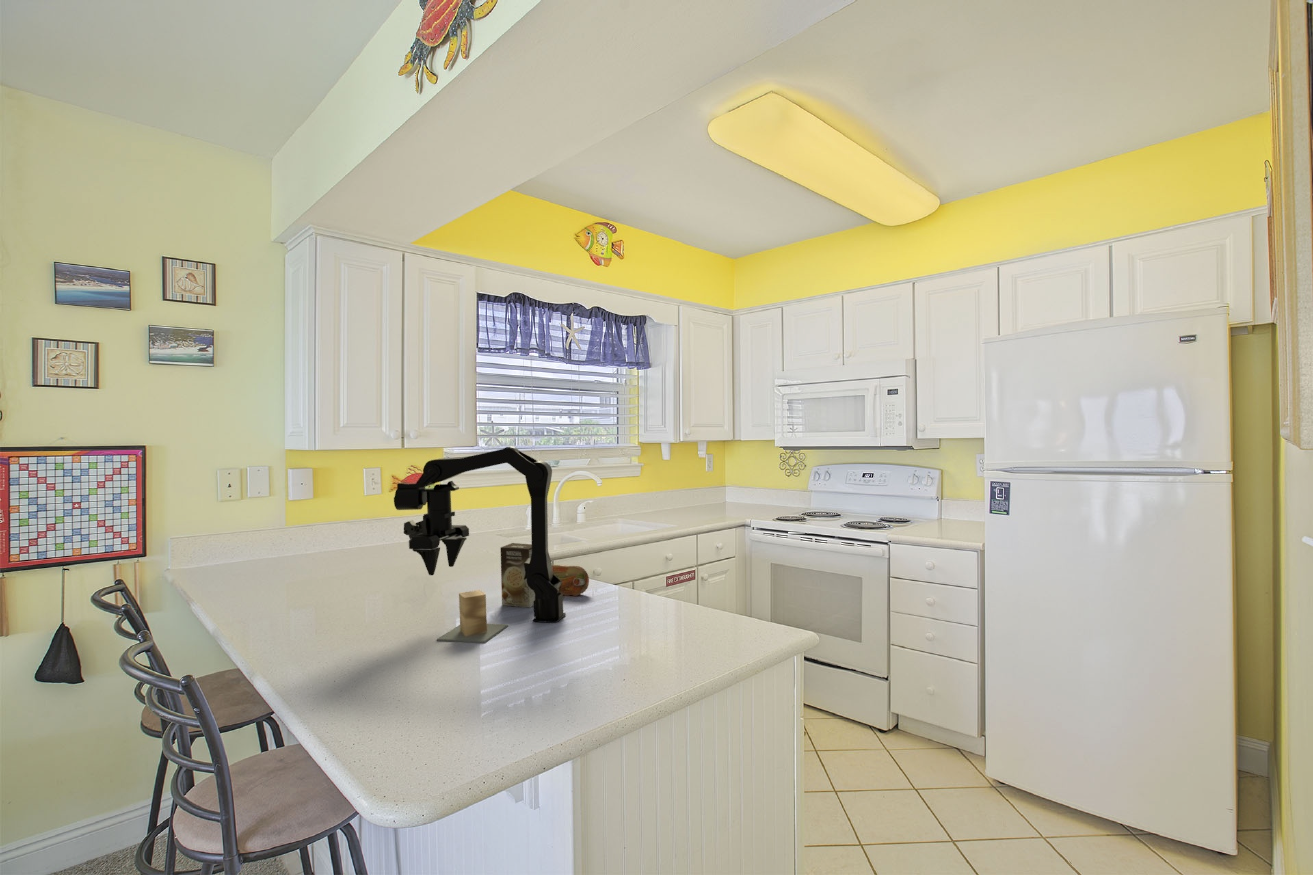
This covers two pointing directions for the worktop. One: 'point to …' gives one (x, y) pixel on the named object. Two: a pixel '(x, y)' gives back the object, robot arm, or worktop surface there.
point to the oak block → (472, 612)
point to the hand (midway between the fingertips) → (441, 570)
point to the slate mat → (458, 636)
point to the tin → (571, 579)
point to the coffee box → (515, 575)
